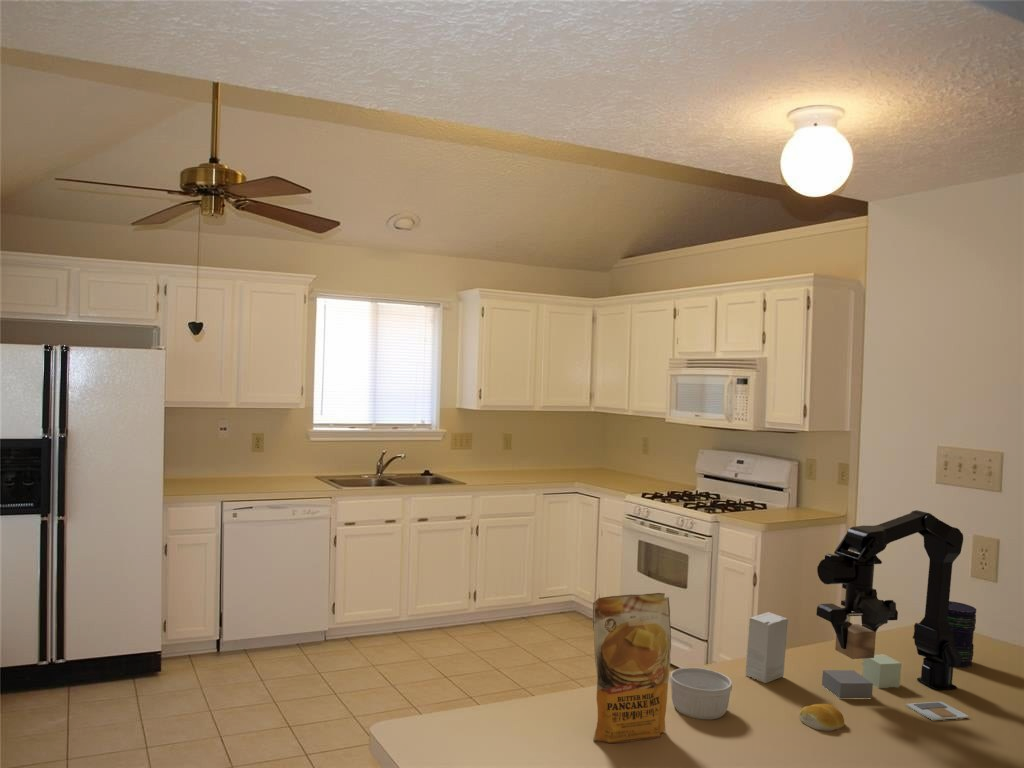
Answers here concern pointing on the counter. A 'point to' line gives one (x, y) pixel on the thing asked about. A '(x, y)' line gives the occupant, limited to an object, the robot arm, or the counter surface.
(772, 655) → the skincare box
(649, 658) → the pancake mix bag
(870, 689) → the charcoal block
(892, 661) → the sage cube
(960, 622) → the storage jar
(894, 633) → the counter surface
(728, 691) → the ramekin
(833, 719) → the bread roll
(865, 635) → the walnut cube
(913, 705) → the card
